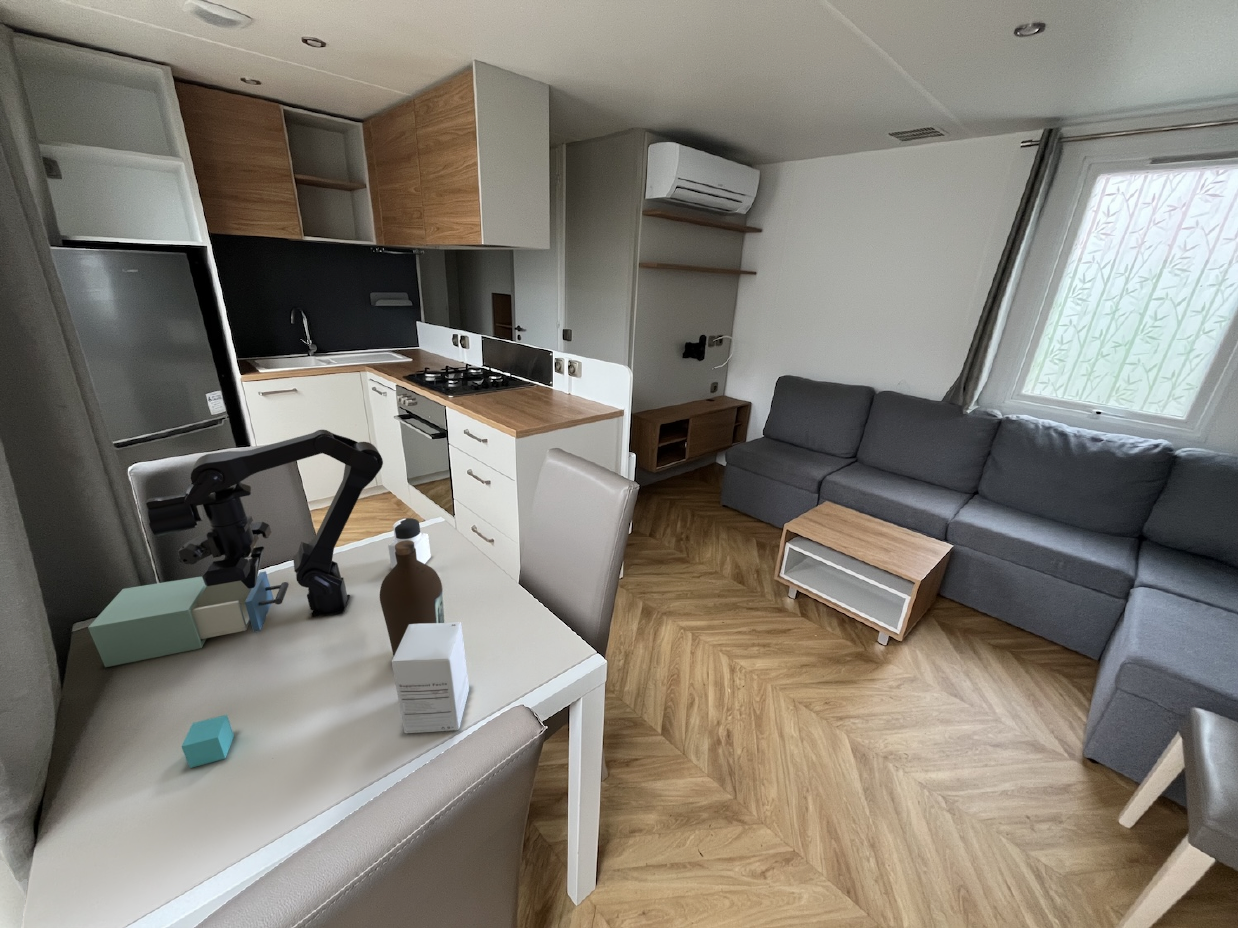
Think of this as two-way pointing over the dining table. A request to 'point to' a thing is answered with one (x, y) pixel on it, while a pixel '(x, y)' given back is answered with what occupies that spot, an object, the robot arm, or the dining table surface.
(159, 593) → the cabinet
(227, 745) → the block
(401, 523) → the medicine bottle
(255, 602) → the drawer
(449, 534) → the dining table surface
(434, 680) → the white product box
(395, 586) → the olive oil
